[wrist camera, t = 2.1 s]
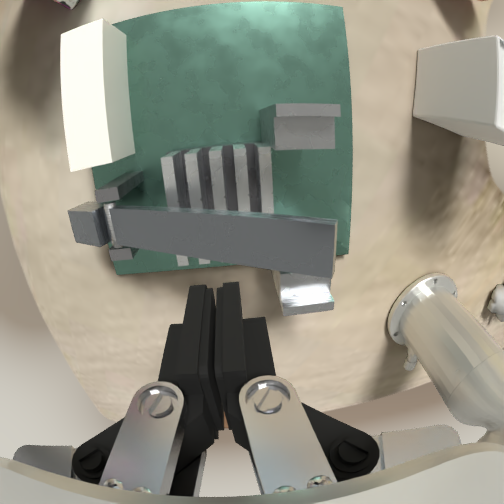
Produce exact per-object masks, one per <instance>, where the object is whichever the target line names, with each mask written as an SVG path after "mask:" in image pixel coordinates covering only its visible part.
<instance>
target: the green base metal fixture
mask: <svg viewBox="0 0 504 504" xmlns="http://www.w3.org/2000/svg"><path fill="white" fill-rule="evenodd" d="M112 25H113V26H114V27H116V28H117V29H119V30H120V31H121V32H123V33H124V34H125V35H126V43H127V70H128V86H129V99H130V111H131V121H132V130H133V139H134V147H135V153H134V154H132V155H129V156H127V157H124V158H122V159H120V160H117V161H115V162H112V163H108V164H103V165H98V166H94V167H92V171H93V177H94V183H95V188H96V190H95V195H96V200H97V203H102V202H111V201H116V205H126V206H155V207H178V208H197V209H214V210H230V211H244V212H258V213H271V214H283V215H294V216H306V217H316V218H326V219H336V220H338V221H337V242H336V255H344V254H348V251H349V238H350V222H351V202H352V161H353V145H352V105H351V86H350V71H349V59H348V48H347V39H346V30H345V22H344V15H343V8H342V7H338V6H330V5H321V4H311V3H297V2H235V3H221V4H210V5H201V6H194V7H187V8H180V9H174V10H169V11H164V12H159V13H154V14H149V15H145V16H141V17H137V18H133V19H129V20H125V21H122V22H118V23H115V24H112ZM108 245H109V254H110V258H111V261H113V263H114V267H115V270H116V274H117V275H121V274H134V273H146V272H158V271H170V270H182V269H194V268H206V267H217V266H228V265H237V264H231V263H225V262H218V261H212V260H206V259H200V258H193V257H187V256H181V255H175V254H169V253H163V252H157V251H151V250H145V249H139V248H133V247H127V246H123V247H121V248H114V247H113V244H111V241H110V242H109V243H108ZM271 271H272V275H273V279H274V282H275V286H276V290H277V294H278V298H279V302H280V305H281V309H282V313H283V316H289V315H297V314H306V313H313V312H321V311H328V310H333V309H334V300H333V298H332V296H331V294H330V286H331V278H324V277H317V276H310V275H303V274H297V273H290V272H283V271H276V270H271Z"/></svg>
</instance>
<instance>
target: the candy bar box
mask: <svg viewBox="0 0 504 504" xmlns="http://www.w3.org/2000/svg"><path fill="white" fill-rule="evenodd" d="M53 1H55V2H57V3H60V4H62V5H64V6H65V7H67V8H69V9H71V10H72V9H73V8H74V7H75V6H76V5H77V3H78V2H79V1H80V0H53Z"/></svg>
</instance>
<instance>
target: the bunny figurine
mask: <svg viewBox="0 0 504 504" xmlns="http://www.w3.org/2000/svg"><path fill="white" fill-rule="evenodd" d="M491 298H492V299H491V300H490V302H489V305H488V307H487V308H488V309H489V310H490V312H491V313H492V312H494V313H496V316H497V317H498V319H499V320H500V321H501V322H502V321H504V286H503V285H502V284H498V285H497V286H496V289H495V290H493V293H492V296H491Z"/></svg>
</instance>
